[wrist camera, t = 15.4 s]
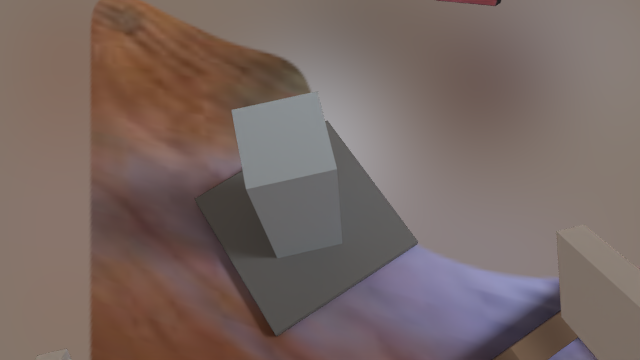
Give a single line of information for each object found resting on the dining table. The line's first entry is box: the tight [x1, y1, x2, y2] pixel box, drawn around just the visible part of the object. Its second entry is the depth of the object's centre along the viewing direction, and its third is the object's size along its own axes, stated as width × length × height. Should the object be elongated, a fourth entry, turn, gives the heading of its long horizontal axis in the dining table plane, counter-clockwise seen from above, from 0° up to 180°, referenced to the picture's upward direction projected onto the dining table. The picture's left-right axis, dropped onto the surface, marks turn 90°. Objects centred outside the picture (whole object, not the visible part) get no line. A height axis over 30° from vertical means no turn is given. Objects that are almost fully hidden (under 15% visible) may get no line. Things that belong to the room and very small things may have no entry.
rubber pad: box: [195, 121, 418, 336], centre depth 36 cm, size 10×10×1 cm
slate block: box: [232, 92, 342, 258], centre depth 31 cm, size 4×4×11 cm
